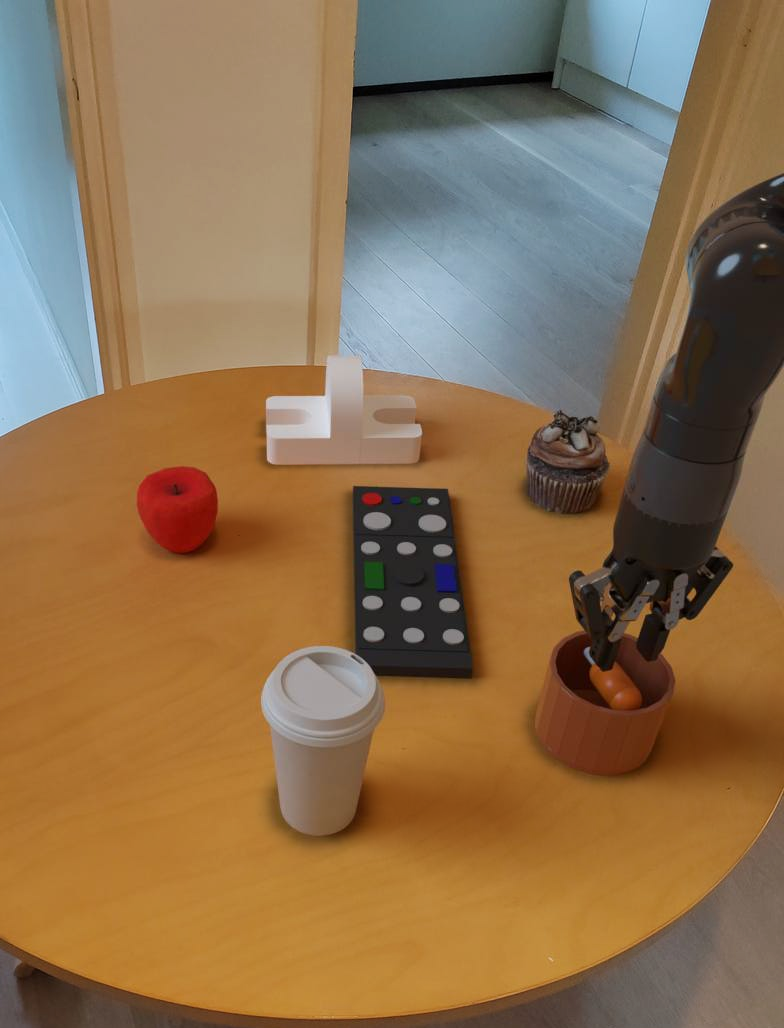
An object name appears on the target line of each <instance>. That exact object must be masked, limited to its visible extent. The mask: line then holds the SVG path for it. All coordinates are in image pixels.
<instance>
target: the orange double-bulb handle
mask: <svg viewBox="0 0 784 1028" xmlns="http://www.w3.org/2000/svg"><path fill="white" fill-rule="evenodd" d="M589 650H590V647H587V648H586V649H585V650H584V655H585V657H586V658H587V659H588V661H589V662H590V663H591V665H592V667H591V669H590V680H591V682H592V683H593V685H594V686H595V688H596V689H597V690H598V692H599V693H600V694H601V696H602V697H603V698H604V700H605V701H606V702H607V704H608V705H609V707H610V708H611V709H612V710H624V711H633V710H638V709H639V708H640V706H641V704H642V696H641V693H640V691H639V690H638V688H637V687H636V686H635V685H634V683H633V682H632V681H631V679H630V678H629V677H628V676H627V674H626V673H625V672H624V670H623V669H622V668H621V667H620V665H619V664H618V663H617V662H616V661H615V663H614V666H613V669H612V670H609V671H605V672H603V671H601V669H600V668H599V667H598V666H597V665H596V664H595V662H594V661H593V660H592V658H591V657H590V655H589Z"/></svg>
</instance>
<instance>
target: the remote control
mask: <svg viewBox="0 0 784 1028" xmlns="http://www.w3.org/2000/svg"><path fill="white" fill-rule="evenodd" d="M454 530H455V529H454V522H453V515H452V508H451V500H450V493H449V488H437V487H436V488H433V487H432V488H431V487H405V486H404V487H399V486H369V485H368V486H365V485H353V486H352V537H353V539H352V540H353V543H352V545H353V593H354V600H353V601H354V602H353V603H354V647H355V648H354V650H355V652H354V654H356V655H358V656H359V657H361V658H362V659H363V660H364V661H365V662H366V663H367V664H368V665H369V666H370V667H371V669H372V671H373V672H374V674H375V675H376V677H399V678H400V677H402V678H403V677H405V678H438V679H467V680H468V679H470V680H471V679H472V676H473V670H474V666H473V659H472V652H471V651H472V650H471V645H470V638H469V631H468V623H467V617H466V616H467V615H466V608H465V601H464V593H463V588H462V587H463V586H462V579H461V573H460V566H459V565H460V564H459V559H458V558H459V557H458V551H457V544H456V538H455V537H456V536H455V531H454Z"/></svg>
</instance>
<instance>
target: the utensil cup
mask: <svg viewBox="0 0 784 1028" xmlns="http://www.w3.org/2000/svg"><path fill="white" fill-rule="evenodd" d="M620 639H621V643H620V647H619V650H618V653H617V656H616V659H615V661H616V662H617V663H618V664H619V665H620V667H621V668H622V669H623V670H624V672H625V673H626V674H627V676H628V677H629V678H630V679H631V681H632V682H633V683H634V685H635V686H636V687H637V688H638V690H639V691H640V693H641V696H642V704H641V706H640V708H639V709H638V710H633V711H624V710H612V709H611V708H610V707H609V705H608V704H607V702H606V701H605V700H604V698H603V697H602V696H601V694H600V693H599V692H598V690H597V689H596V688H595V686H594V685H593V683H592V682H591V680H590V669H591V667H592V665H591V663H590V662H589V661H588V659H587V658H586V657H585V655H584V650H585V649H586V648H587V647H590V646H591V644H592V639H591V638H590V637H589V635H588V634H587V633H586V631H585V630H584V629H583V630H579V631H575V632H573V633H570V634H569V635H566V636H564V637H563V638H561V640H559V641H558V642H557V643H556V645H555V646H554V647H553V648H552V651H551V655H550V658H549V661H548V665H547V669H546V672H545V677H544V681H543V685H542V689H541V693H540V697H539V701H538V703H537V704H538V705H537V708H536V712H535V718H534V730H535V733H536V736H537V738H538V740H539V742H540V744H541V746H542V747H543V749H545V750H546V751H547V752H548V754H549V755H551V756H552V758H554V759H556V760H557V761H558V762H560V763H561V764H563V765H565V766H567V767H568V768H570V769H573V770H576V771H578V772H580V773H583V774H584V773H585V774H588V775H594V776H603V777H605V776H607V777H608V776H609V777H610V776H619V775H623V774H627V773H629V772H632V771H634V770H636V769H637V768H639V767H640V766H642V765H643V764H644V763H645V761H647V759H648V758H649V756H650V754H651V752H652V750H653V748H654V745H655V742H656V740H657V737H658V735H659V732H660V729H661V726H662V725H663V721H664V719H665V716H666V714H667V712H668V708H669V705H670V703H671V700H672V698H673V695H674V691H675V686H676V678H675V674H674V671H673V668H672V665H671V664H670V663H669V661H668V660H667V659H666V657H665V656H664V655H663V654H662V652H661V653H659V655H658V658H657V660H654V661H650V662H647V661H646V660H645V659H644V658H643V656H642V655H641V654H640V653H639V651H638V650H637V648H636V643H637V640H638V637H637V636H635V635H632V634H630V633H626V632H624V633H623V635H622V637H621V638H620Z"/></svg>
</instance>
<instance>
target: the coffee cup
mask: <svg viewBox="0 0 784 1028" xmlns="http://www.w3.org/2000/svg"><path fill="white" fill-rule="evenodd" d="M260 706H261V710H262V714H263V716H264V718H265V720H266V721H267V723H268V724H269V730H270V736H271V745H272V752H273V759H274V769H275V776H276V783H277V790H278V791H277V792H278V799H279V807H280V812H281V814H282V817H283V819H284V820H285V822H286V823H287V824H288V825H289V826H290V827H292V828H293V829H294V830H296V831H298V832H300V833H302V834H305V835H307V836H308V835H309V836H314V837H323V836H330V835H333V834H336V833H338V832H341V831H342V830H344V829H346V827H348V826H349V825H350V824H351V822H352V821H353V819H354V818H355V815H356V812H357V807H358V803H359V799H360V794H361V790H362V786H363V781H364V776H365V772H366V767H367V762H368V758H369V754H370V750H371V744H372V741H373V736H374V732H375V729H376V728H377V727H378V725H380V723H381V721H382V719H383V718H384V714H385V711H386V697H385V692H384V690H383V686H382V685H381V682H380V680H379V678H378V676H376V675H375V674H374V672H373V671H372V669H371V667H370V666H369V665H368V664H367V663H366V662H365V661H364V660H363V659H362V658H361V657H359V656H358V655H356V654H355V652H352V651H350V650H347V649H345V648H341V647H337V646H330V645H315V646H307V647H303V648H300V649H297V650H295V651H292V652H291V653H289V654H288V655H286V656H285V657H283V658H282V659H281V660H280V661H279V662H278V664H277V665H276V667H275V668H274V669H273V670H272V672H271V673H270V674H269V676H268V677H267V679H266V681H265V683H264V686H263V687H262V692H261V697H260Z"/></svg>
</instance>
